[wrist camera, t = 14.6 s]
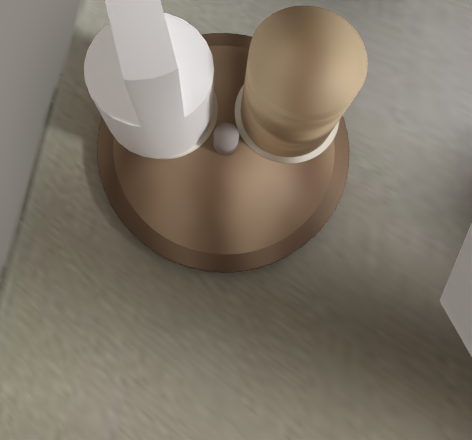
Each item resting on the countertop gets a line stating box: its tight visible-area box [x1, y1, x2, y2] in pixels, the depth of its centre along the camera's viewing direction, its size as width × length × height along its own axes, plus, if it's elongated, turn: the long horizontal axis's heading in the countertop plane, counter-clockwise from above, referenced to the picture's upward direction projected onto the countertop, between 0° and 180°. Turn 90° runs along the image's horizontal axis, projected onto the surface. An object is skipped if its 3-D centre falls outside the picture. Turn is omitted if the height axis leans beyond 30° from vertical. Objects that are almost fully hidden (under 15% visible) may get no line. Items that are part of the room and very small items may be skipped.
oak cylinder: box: [240, 6, 368, 157], centre depth 32 cm, size 8×8×8 cm
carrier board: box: [97, 33, 349, 272], centre depth 35 cm, size 21×21×3 cm
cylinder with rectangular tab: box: [84, 0, 214, 159], centre depth 29 cm, size 9×9×12 cm
